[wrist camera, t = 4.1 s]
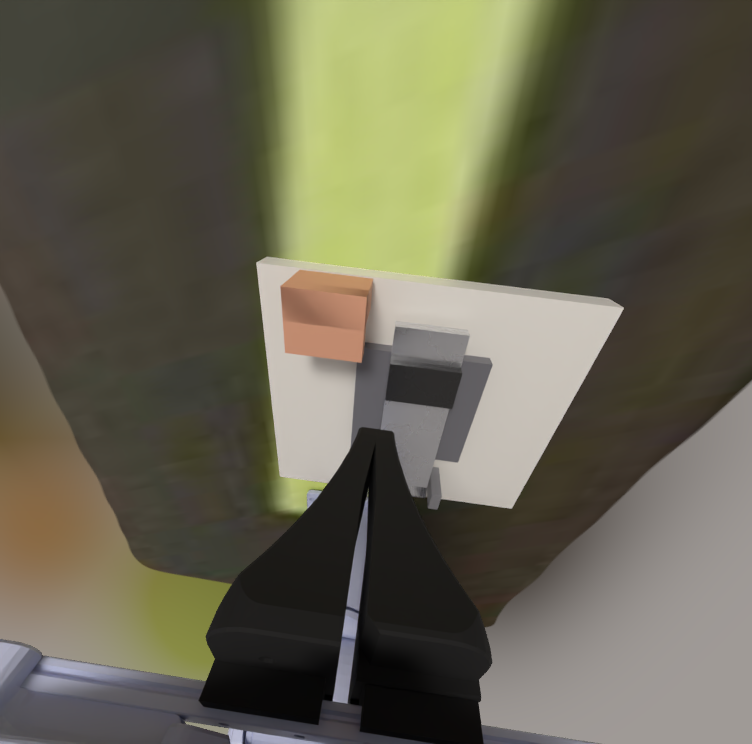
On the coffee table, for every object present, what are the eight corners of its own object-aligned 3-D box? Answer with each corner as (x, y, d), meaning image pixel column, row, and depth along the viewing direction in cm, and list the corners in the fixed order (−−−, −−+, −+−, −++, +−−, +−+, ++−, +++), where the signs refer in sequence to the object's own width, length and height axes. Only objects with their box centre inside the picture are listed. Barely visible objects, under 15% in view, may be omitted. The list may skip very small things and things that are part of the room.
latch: (367, 337, 18) (361, 362, 16) (301, 328, 19) (285, 352, 16) (373, 278, 17) (366, 297, 14) (299, 269, 17) (280, 286, 14)
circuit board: (506, 493, 28) (520, 538, 24) (285, 462, 28) (268, 503, 25) (608, 298, 18) (657, 328, 14) (267, 256, 18) (233, 275, 15)
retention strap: (423, 486, 24) (424, 505, 23) (373, 479, 25) (371, 498, 23) (466, 327, 17) (472, 340, 16) (396, 318, 17) (394, 330, 16)
